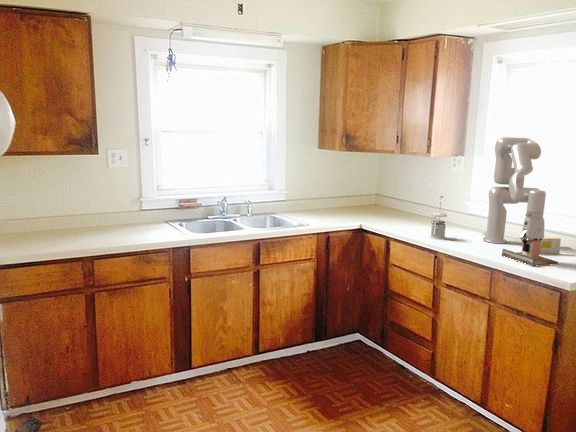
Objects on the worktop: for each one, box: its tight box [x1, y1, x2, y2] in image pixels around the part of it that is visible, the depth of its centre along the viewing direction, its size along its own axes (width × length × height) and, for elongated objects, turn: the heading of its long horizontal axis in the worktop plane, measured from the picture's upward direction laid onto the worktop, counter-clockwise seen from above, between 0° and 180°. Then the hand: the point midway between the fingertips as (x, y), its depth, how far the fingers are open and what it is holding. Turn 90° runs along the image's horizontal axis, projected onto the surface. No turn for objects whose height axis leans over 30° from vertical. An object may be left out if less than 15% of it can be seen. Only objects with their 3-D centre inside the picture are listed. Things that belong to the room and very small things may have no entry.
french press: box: [428, 195, 448, 241], centre depth 293 cm, size 10×12×25 cm
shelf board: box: [501, 251, 559, 267], centre depth 250 cm, size 20×16×1 cm
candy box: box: [539, 237, 562, 255], centre depth 265 cm, size 16×2×8 cm, turn 93°
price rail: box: [501, 248, 535, 264], centre depth 247 cm, size 20×1×2 cm, turn 20°
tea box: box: [521, 239, 541, 259], centre depth 249 cm, size 4×7×9 cm, turn 20°
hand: (530, 250), depth 250 cm, fingers open, 5 cm apart
